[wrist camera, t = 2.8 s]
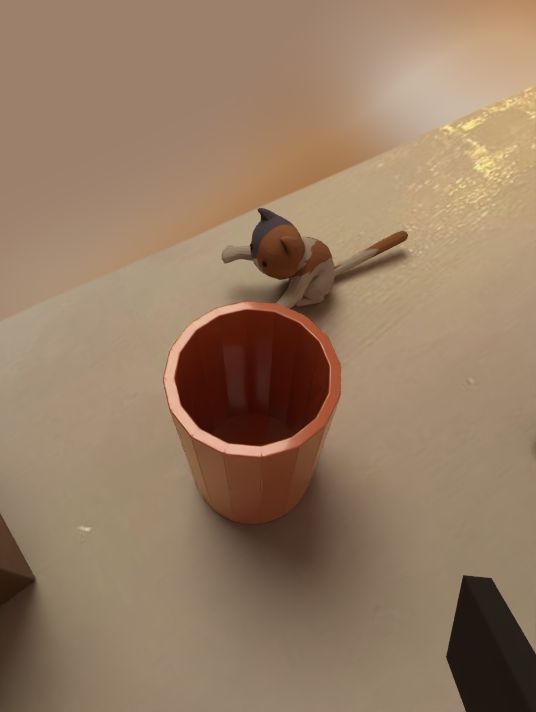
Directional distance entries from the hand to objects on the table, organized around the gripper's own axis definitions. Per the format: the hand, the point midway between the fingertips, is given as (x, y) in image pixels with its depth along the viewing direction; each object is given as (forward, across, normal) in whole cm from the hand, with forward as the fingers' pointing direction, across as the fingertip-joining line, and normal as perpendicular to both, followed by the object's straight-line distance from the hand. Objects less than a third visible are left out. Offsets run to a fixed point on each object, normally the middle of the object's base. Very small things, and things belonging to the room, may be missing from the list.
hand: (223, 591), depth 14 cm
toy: (+28, +4, +6) cm, 29 cm away
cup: (+16, 0, -4) cm, 17 cm away
